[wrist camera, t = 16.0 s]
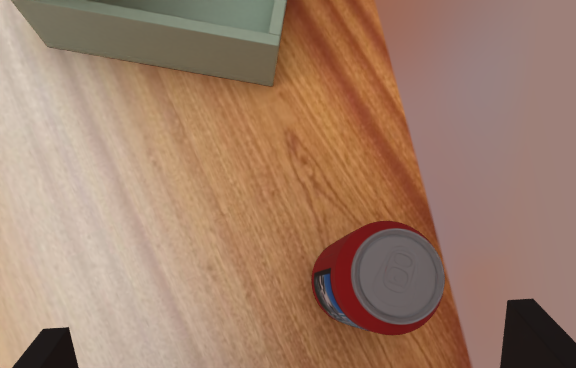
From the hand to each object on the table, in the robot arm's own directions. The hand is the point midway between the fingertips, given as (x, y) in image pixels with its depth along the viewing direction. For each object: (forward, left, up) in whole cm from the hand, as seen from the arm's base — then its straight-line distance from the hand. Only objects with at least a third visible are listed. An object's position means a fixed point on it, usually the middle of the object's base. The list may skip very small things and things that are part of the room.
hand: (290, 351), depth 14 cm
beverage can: (-8, -2, -23) cm, 24 cm away
